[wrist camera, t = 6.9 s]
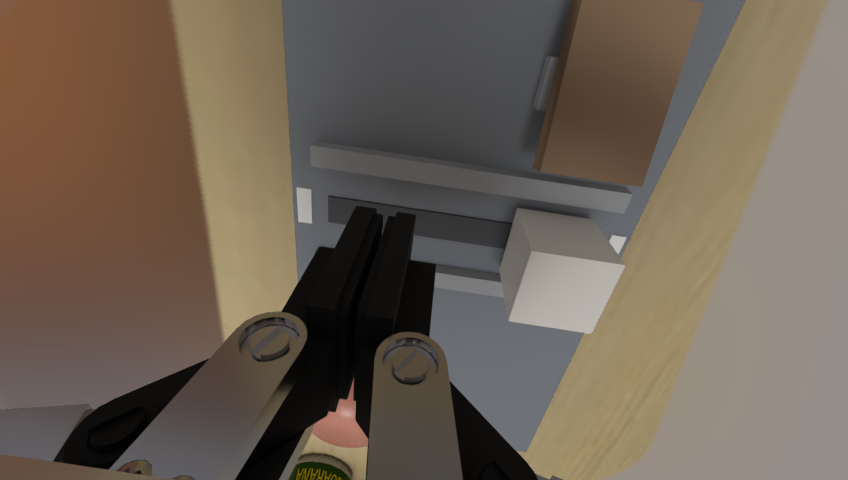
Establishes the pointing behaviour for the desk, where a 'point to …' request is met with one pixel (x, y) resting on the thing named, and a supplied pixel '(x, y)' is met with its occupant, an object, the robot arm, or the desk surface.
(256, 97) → the desk surface
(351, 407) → the push button
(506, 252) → the slider knob
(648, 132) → the rocker
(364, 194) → the console
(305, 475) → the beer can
